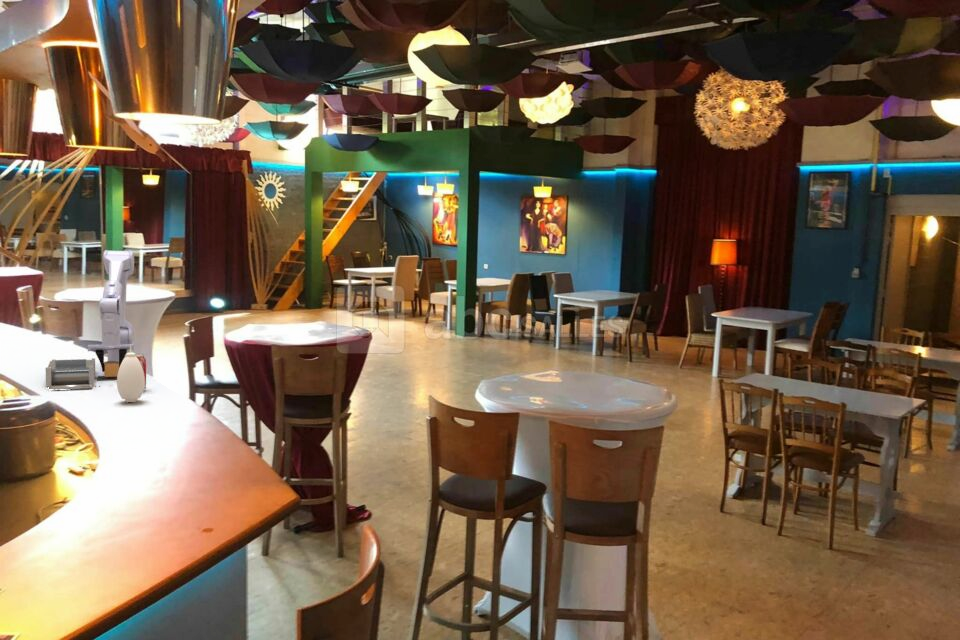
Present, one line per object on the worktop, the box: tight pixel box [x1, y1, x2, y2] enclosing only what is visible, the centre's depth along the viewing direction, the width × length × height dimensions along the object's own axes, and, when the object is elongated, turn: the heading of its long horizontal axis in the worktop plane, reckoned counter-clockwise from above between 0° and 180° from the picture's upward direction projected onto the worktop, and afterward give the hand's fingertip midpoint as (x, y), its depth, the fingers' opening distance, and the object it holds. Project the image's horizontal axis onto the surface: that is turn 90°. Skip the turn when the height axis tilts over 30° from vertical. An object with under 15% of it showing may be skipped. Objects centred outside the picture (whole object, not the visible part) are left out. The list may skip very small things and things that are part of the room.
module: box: [103, 360, 119, 377], centre depth 270 cm, size 4×4×5 cm
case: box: [45, 357, 96, 388], centre depth 265 cm, size 24×14×7 cm, turn 25°
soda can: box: [124, 352, 147, 390], centre depth 254 cm, size 7×7×12 cm
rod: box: [48, 383, 94, 390], centre depth 252 cm, size 13×2×2 cm, turn 115°
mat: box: [96, 375, 117, 382], centre depth 270 cm, size 9×9×1 cm
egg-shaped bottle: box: [116, 345, 145, 403], centre depth 238 cm, size 8×8×18 cm
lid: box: [47, 358, 96, 372], centre depth 261 cm, size 15×14×3 cm
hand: (111, 371), depth 270 cm, fingers closed on module, 4 cm apart
